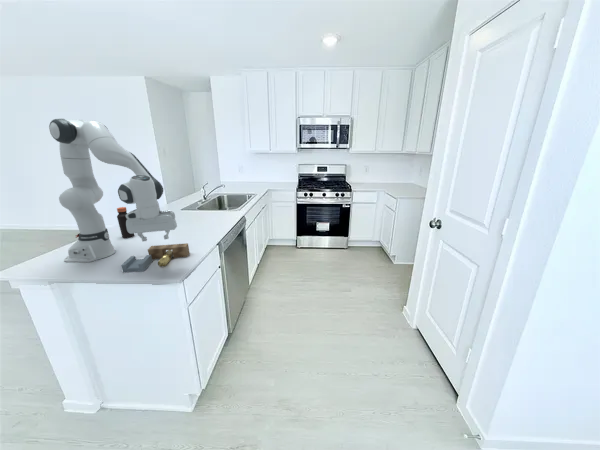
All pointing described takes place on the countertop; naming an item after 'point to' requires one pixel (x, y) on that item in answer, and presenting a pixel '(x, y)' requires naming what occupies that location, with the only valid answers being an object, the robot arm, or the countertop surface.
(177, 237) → the countertop surface
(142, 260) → the v block
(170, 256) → the gold bar
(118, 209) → the bottle
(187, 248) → the beam
